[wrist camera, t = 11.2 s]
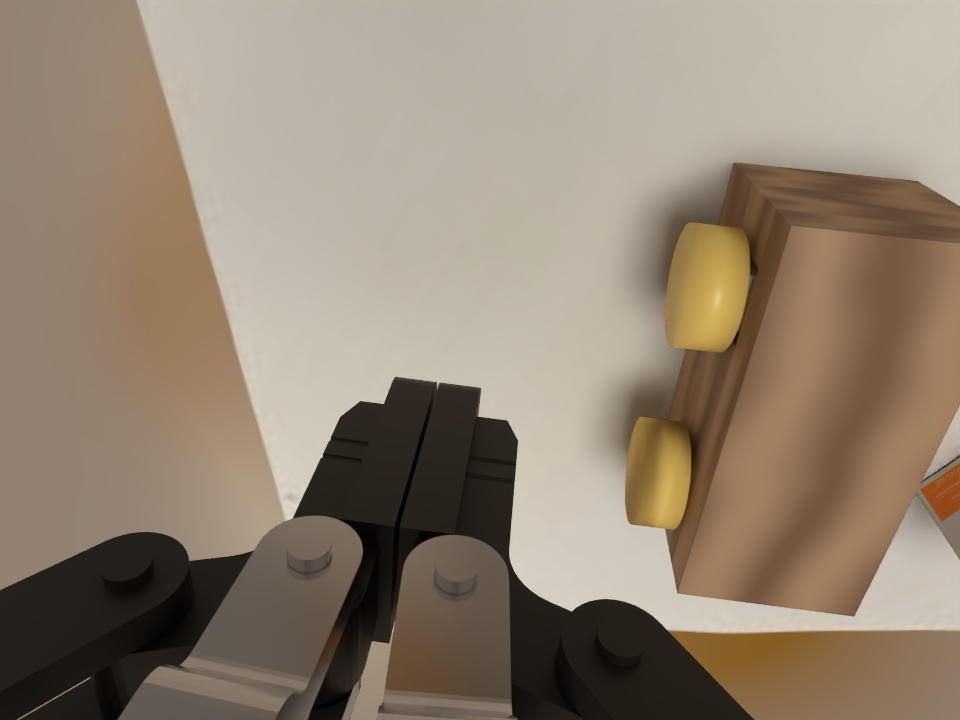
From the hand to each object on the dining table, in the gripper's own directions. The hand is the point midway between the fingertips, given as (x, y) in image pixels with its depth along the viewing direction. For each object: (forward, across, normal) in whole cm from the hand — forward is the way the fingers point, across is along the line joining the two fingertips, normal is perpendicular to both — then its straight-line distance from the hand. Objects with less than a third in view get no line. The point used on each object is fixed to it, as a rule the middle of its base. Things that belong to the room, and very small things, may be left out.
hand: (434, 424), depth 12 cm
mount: (+30, -16, +13) cm, 37 cm away
